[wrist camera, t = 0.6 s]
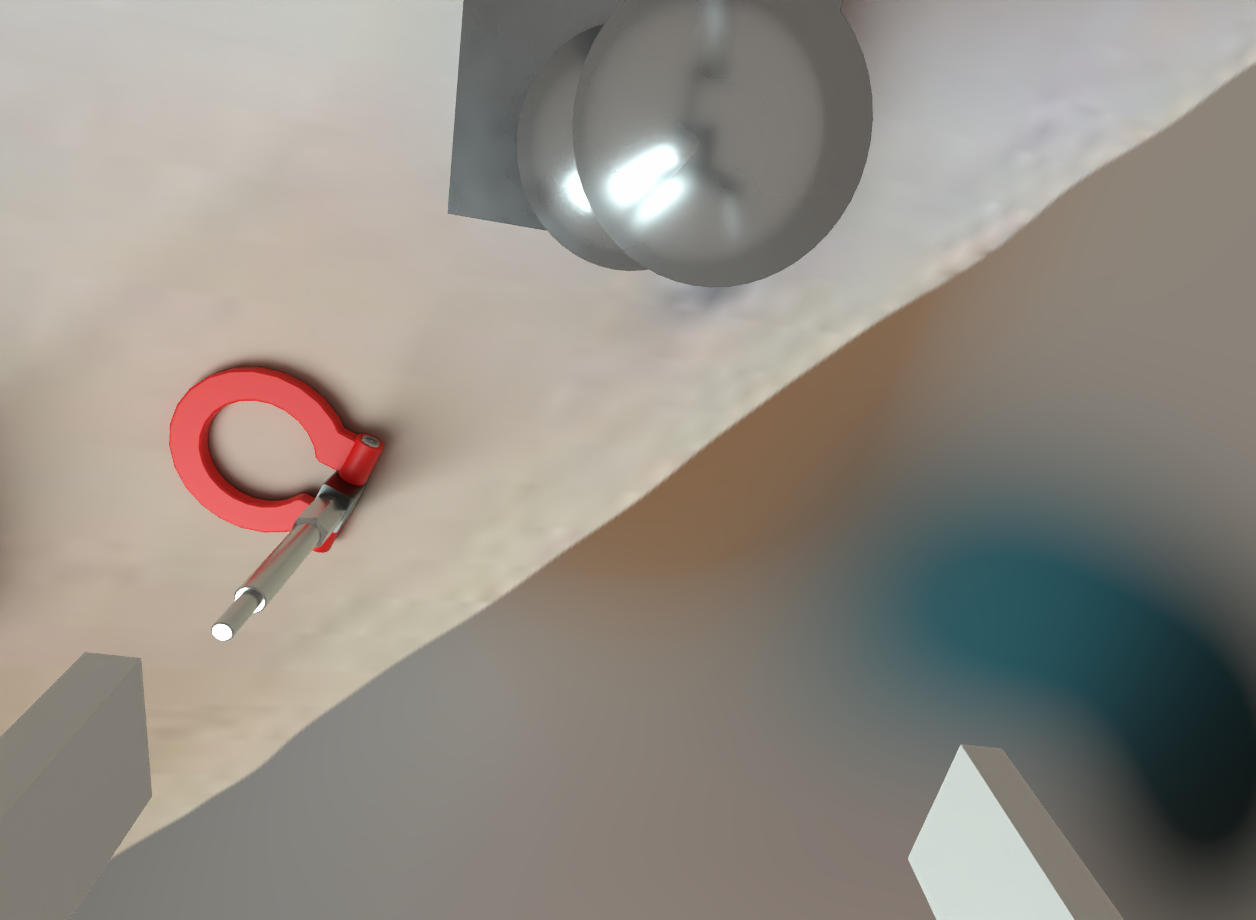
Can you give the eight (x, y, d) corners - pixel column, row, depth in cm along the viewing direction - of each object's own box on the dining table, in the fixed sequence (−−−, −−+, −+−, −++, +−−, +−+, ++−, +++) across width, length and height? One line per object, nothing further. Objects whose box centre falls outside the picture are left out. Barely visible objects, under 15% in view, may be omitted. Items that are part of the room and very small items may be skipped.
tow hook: (157, 473, 36) (329, 557, 38) (-66, 613, 24) (200, 726, 26) (218, 331, 34) (398, 428, 36) (4, 409, 22) (291, 549, 24)
